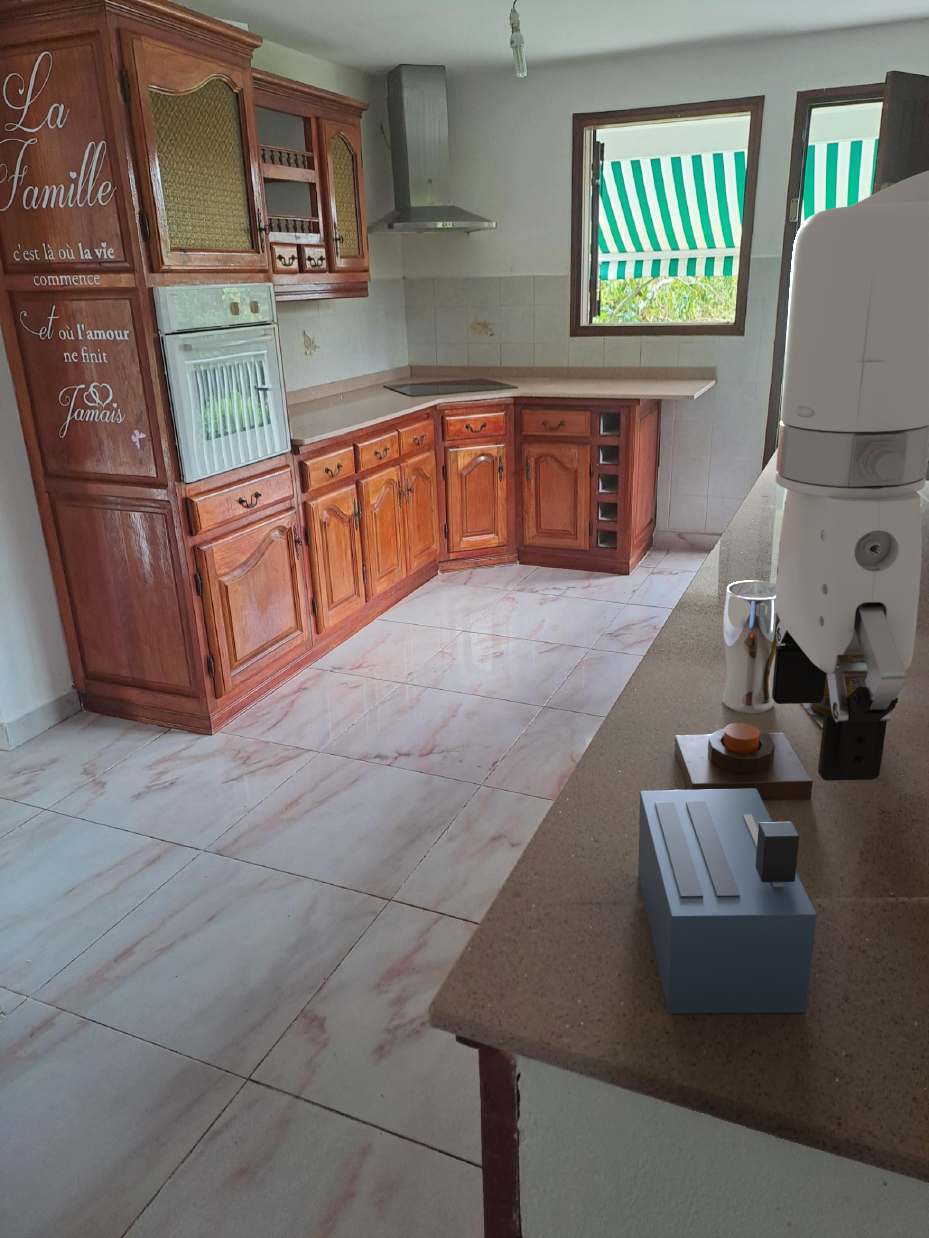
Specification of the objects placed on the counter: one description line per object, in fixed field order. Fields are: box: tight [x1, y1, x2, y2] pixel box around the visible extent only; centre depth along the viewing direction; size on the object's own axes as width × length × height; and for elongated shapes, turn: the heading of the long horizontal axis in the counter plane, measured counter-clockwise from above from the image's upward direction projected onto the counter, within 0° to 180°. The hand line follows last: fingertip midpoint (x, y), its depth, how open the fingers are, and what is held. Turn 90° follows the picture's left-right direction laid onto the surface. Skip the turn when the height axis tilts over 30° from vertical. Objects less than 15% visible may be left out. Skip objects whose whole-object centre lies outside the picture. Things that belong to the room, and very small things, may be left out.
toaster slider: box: [755, 821, 800, 882], centre depth 64 cm, size 2×2×4 cm
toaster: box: [637, 788, 818, 1015], centre depth 71 cm, size 10×16×9 cm, turn 177°
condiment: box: [800, 654, 867, 729], centre depth 104 cm, size 7×8×12 cm
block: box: [674, 727, 813, 801], centre depth 94 cm, size 12×10×4 cm
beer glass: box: [721, 580, 782, 715], centre depth 107 cm, size 7×7×15 cm
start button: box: [723, 722, 761, 753], centre depth 93 cm, size 4×4×2 cm
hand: (820, 736), depth 54 cm, fingers open, 8 cm apart
